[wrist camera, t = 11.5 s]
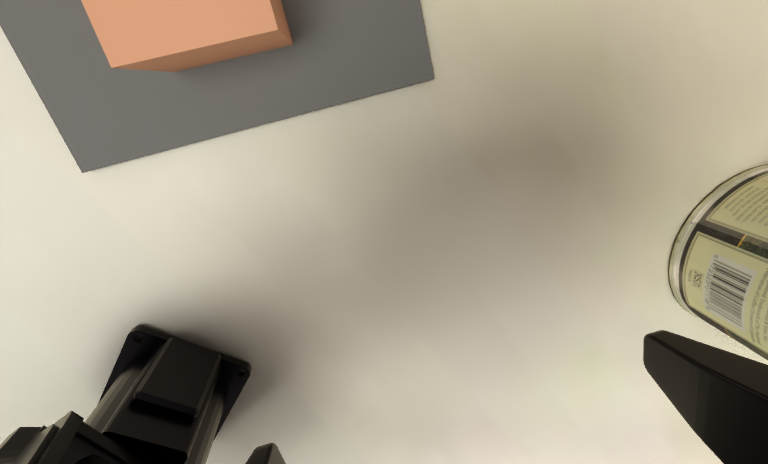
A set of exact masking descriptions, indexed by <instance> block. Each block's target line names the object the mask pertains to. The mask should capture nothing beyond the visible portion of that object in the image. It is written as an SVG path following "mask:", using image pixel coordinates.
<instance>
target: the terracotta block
mask: <svg viewBox="0 0 768 464" xmlns="http://www.w3.org/2000/svg"><path fill="white" fill-rule="evenodd" d="M81 1H82V4H83V6H84V8H85V10H86V13H87V15H88V17H89V19H90V21H91V24H92V26H93V28H94V30H95V33H96V35H97V37H98V39H99V41H100V44H101V46H102V48H103V50H104V53H105V55H106V57H107V59H108V62H109V64H110V66H111V68H120V69H135V70H151V71H166V72H177V71H182V70H186V69H190V68H195V67H199V66H203V65H208V64H212V63H216V62H221V61H225V60H229V59H233V58H238V57H242V56H246V55H251V54H255V53H259V52H264V51H268V50H272V49H277V48H281V47H285V46H290V45H293V42H292V38H291V34H290V31H289V27H288V24H287V20H286V16H285V13H284V9H283V6H282V2H281V0H81Z"/></svg>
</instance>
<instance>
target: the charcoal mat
mask: <svg viewBox="0 0 768 464" xmlns="http://www.w3.org/2000/svg"><path fill="white" fill-rule="evenodd" d="M281 2H282V6H283V9H284V13H285V16H286V20H287V24H288V27H289V31H290V34H291V38H292V42H293V45H290V46H285V47H281V48H277V49H272V50H268V51H264V52H259V53H255V54H251V55H246V56H242V57H238V58H233V59H229V60H225V61H221V62H216V63H212V64H208V65H203V66H199V67H195V68H190V69H186V70H182V71H177V72H166V71H151V70H135V69H120V68H111V66H110V64H109V62H108V59H107V57H106V55H105V53H104V50H103V48H102V46H101V44H100V41H99V39H98V37H97V35H96V33H95V30H94V28H93V26H92V24H91V21H90V19H89V17H88V15H87V13H86V10H85V8H84V6H83V4H82V1H81V0H0V26H1V28H2V30H3V31H4V33H5V35H6V37H7V39H8V40H9V42H10V44H11V46H12V48H13V49H14V51H15V53H16V55H17V57H18V58H19V60H20V62H21V64H22V66H23V67H24V69H25V71H26V73H27V75H28V76H29V78H30V80H31V82H32V84H33V85H34V87H35V89H36V91H37V92H38V94H39V96H40V98H41V100H42V101H43V103H44V105H45V107H46V109H47V110H48V112H49V114H50V116H51V118H52V119H53V121H54V123H55V125H56V127H57V128H58V130H59V132H60V134H61V136H62V137H63V139H64V141H65V143H66V145H67V146H68V148H69V150H70V152H71V154H72V155H73V157H74V159H75V161H76V163H77V164H78V166H79V168H80V170H81V172H82V173H84V172H88V171H92V170H95V169H99V168H103V167H106V166H110V165H114V164H118V163H121V162H125V161H129V160H133V159H136V158H140V157H144V156H148V155H151V154H155V153H159V152H163V151H166V150H170V149H174V148H177V147H181V146H185V145H189V144H192V143H196V142H200V141H204V140H207V139H211V138H215V137H219V136H222V135H226V134H230V133H233V132H237V131H241V130H245V129H248V128H252V127H256V126H260V125H263V124H267V123H271V122H275V121H278V120H282V119H286V118H289V117H293V116H297V115H301V114H304V113H308V112H312V111H316V110H319V109H323V108H327V107H331V106H334V105H338V104H342V103H346V102H349V101H353V100H357V99H360V98H364V97H368V96H372V95H375V94H379V93H383V92H387V91H390V90H394V89H398V88H402V87H405V86H409V85H413V84H416V83H420V82H424V81H428V80H431V79H434V76H433V71H432V65H431V60H430V54H429V49H428V43H427V38H426V32H425V26H424V21H423V15H422V10H421V4H420V0H281Z"/></svg>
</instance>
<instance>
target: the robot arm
mask: <svg viewBox="0 0 768 464" xmlns="http://www.w3.org/2000/svg"><path fill="white" fill-rule="evenodd" d="M136 334H139V335H141V336H142V337H143V338H140V337H138V336H137V335H136ZM643 361H644V365H645V368H646V369H647V371H648V373H649V374H650V375H651V377H652V378H653V379H654V380H655V382H656V383H657V384H658V386H659V387H660V388H661V389H662V391H663V392H664V393H665V395H666V396H667V397H668V399H669V400H670V401H671V402H672V404H673V405H674V406H675V408H676V409H677V410H678V411H679V413H680V414H681V415H682V417H683V418H684V419H685V421H686V422H687V423H688V424H689V425H690V427H691V428H692V429H693V430H694V432H695V433H696V434H697V435H698V436H699V437H700V438H701V439H702V441H703V442H704V443H705V444H706V445H707V446H708V447H709V448H710V449H711V450H712V451H713V452H714V454H715V455H716V456H717V457H718V458H719V459H720V460H721V461H722V462H723V463H724V464H768V365H766V364H763V363H760V362H757V361H754V360H751V359H748V358H745V357H742V356H739V355H736V354H733V353H730V352H728V351H725V350H722V349H719V348H716V347H713V346H710V345H707V344H704V343H701V342H698V341H695V340H692V339H689V338H686V337H683V336H680V335H677V334H674V333H671V332H668V331H664V330H660V331H656V332H653V333H649V334H647V335H645V337H644V353H643ZM238 370H244V371H245V372H240V371H238ZM250 372H251V366H250V364H249V363H247V362H245V361H242V360H239V359H236V358H233V357H230V356H228V355H225V354H222V353H219V352H216V351H213V350H210V349H208V348H205V347H202V346H199V345H196V344H193V343H190V342H188V341H185V340H182V339H179V338H176V337H173V336H170V335H168V334H165V333H162V332H159V331H156V330H153V329H150V328H148V327H145V326H136V327H134V328H133V329H132V331H131V332H130V333H129V334H128V336H127V338H126V341H125V343H124V345H123V348H122V350H121V352H120V355H119V357H118V359H117V361H116V364H115V366H114V368H113V371H112V373H111V375H110V378H109V380H108V382H107V384H106V387H105V389H104V391H103V394H102V396H101V398H100V401H99V403H98V405H97V407H96V408H95V409H94V411H93V412H92V413H91V415H90V416H89V418H88V419H87V420H86V422H83V419H84V418H82V417H81V416H79V415H78V414H76V413H75V412H73V411H70V412H69V413H68V414H66V415H65V416H64V417H62V418H61V419H60V420H59V421H57V422H56V423H55V424H52V425H51V426H49V427H46V426H42V427H20V428H18V429H17V430H16V431H14V432H13V433H12V434H11V435H9V436H8V437H7V439H6V440H5V441H4V442H3V443H2V444H1V445H0V464H206V461H207V458H208V455H209V452H210V449H211V446H212V443H213V441H214V439H215V437H216V435H217V433H218V432H219V430H220V428H221V426H222V424H223V423H224V421H225V419H226V417H227V416H228V414H229V412H230V410H231V408H232V407H233V405H234V403H235V401H236V399H237V398H238V396H239V394H240V392H241V390H242V389H243V387H244V385H245V383H246V381H247V380H248V378H249V376H250ZM246 464H286V463H285V461H284V459H283V457H282V455H281V453H280V451H279V449H278V447H277V446H276V444H274V443H269V444H266V445H262V446H259V447H257V448H256V449H255V450H254V451H253V453H252V454H251V456H250V458H249V459H248V461H247V462H246Z"/></svg>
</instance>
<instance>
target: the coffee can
mask: <svg viewBox="0 0 768 464" xmlns="http://www.w3.org/2000/svg"><path fill="white" fill-rule="evenodd" d="M669 279H670V285H671V289H672V291H673V294H674V297H675V298H676V300H677V301H678V302H679V303H680V305H681V306H682V307H683V308H684V309H685V310H687V311H688V312H690V313H691V314H693V315H695V316H697V317H700V318H701V319H703V320H704V321H706V322H707V323H709V324H711V325H712V326H714V327H716V328H717V329H719V330H720V331H722V332H723V333H725V334H727V335H728V336H730V337H731V338H733V339H735V340H736V341H738V342H740V343H741V344H743V345H744V346H746V347H747V348H749V349H751V350H752V351H754V352H755V353H757V354H758V355H760V356H762V357H763V358H765V359H767V360H768V165H764V166H760V167H756V168H753V169H750V170H748V171H745V172H743V173H741V174H739V175H737V176H735V177H733V178H732V179H730V180H729V181H727V182H725V183H724V184H722V185H721V186H719V187H718V188H717V189H716V190H715V191H714V192H713V193H711V194H710V195H709V196H708V197H707V198H705V199H704V201H703V202H702V203H701V204H700V205H699V206H698V207H697V208H696V209H695V210H694V211H693V213H692V214H691V216H690V217H689V218H688V220H687V221H686V223H685V224H684V226H683V227H682V229H681V231H680V233H679V235H678V237H677V239H676V241H675V244H674V248H673V251H672V255H671V259H670V267H669Z"/></svg>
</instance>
